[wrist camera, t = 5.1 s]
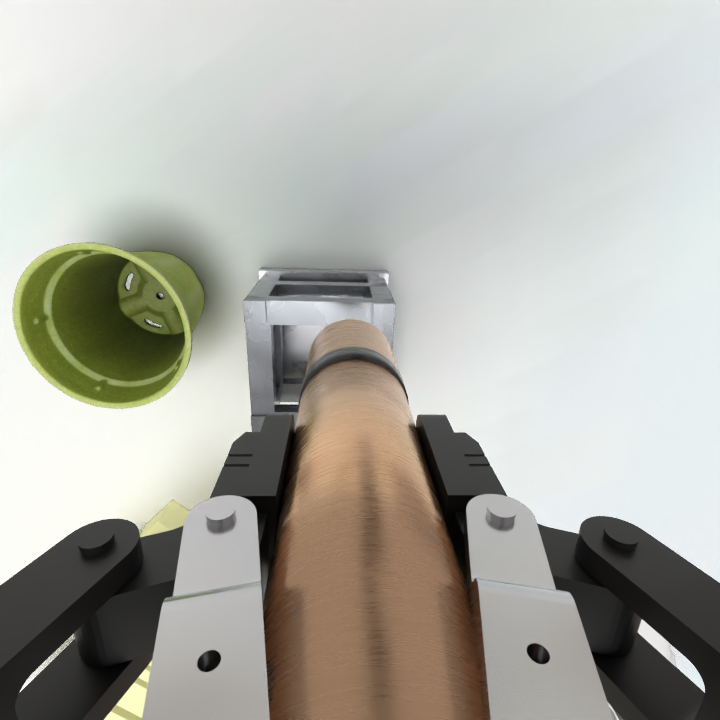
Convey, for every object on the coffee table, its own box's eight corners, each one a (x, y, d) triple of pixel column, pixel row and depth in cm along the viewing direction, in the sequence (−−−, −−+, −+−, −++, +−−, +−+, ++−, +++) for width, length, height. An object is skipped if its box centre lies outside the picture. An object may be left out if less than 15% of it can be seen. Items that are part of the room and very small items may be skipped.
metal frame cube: (260, 267, 32) (237, 295, 25) (387, 270, 33) (401, 298, 25) (266, 383, 36) (247, 437, 28) (381, 384, 36) (391, 438, 29)
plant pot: (82, 328, 34) (1, 377, 26) (107, 203, 30) (23, 214, 22) (207, 371, 35) (168, 429, 27) (243, 256, 32) (211, 284, 24)
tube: (307, 317, 18) (146, 954, 3) (395, 318, 18) (652, 927, 3) (308, 397, 19) (197, 1132, 4) (391, 398, 19) (563, 1107, 4)
